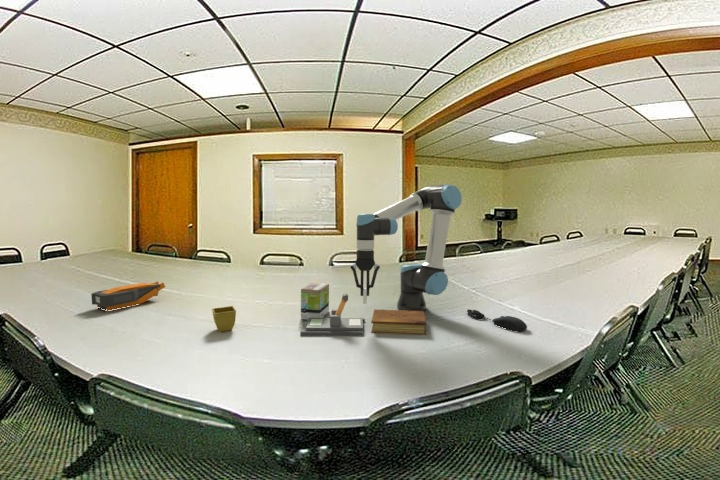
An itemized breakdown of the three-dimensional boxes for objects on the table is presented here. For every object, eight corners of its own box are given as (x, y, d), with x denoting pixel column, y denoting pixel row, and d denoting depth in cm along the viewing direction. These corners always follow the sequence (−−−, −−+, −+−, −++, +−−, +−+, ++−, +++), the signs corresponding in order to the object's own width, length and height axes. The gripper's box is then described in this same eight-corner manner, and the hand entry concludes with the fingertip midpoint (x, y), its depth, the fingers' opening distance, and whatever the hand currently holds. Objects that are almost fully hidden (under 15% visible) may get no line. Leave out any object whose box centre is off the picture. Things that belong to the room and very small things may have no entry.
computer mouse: (519, 335, 158) (519, 322, 158) (460, 315, 185) (460, 305, 185) (532, 330, 163) (533, 318, 163) (473, 312, 190) (473, 302, 190)
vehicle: (169, 299, 215) (169, 282, 214) (103, 314, 186) (101, 294, 185) (156, 296, 222) (155, 279, 221) (90, 309, 194) (88, 290, 193)
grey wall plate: (364, 321, 175) (364, 318, 175) (365, 335, 156) (365, 332, 156) (306, 321, 175) (306, 318, 175) (300, 335, 156) (300, 332, 156)
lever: (337, 320, 168) (349, 294, 167) (337, 325, 162) (348, 297, 161) (332, 318, 168) (343, 292, 167) (331, 322, 162) (343, 295, 161)
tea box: (320, 320, 176) (320, 289, 174) (300, 319, 178) (299, 288, 176) (329, 311, 190) (329, 283, 189) (310, 310, 192) (310, 282, 191)
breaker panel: (362, 323, 172) (362, 308, 172) (363, 333, 158) (363, 317, 158) (310, 323, 172) (310, 308, 172) (306, 333, 158) (305, 317, 158)
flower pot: (215, 334, 157) (214, 313, 156) (212, 328, 165) (211, 308, 164) (236, 331, 161) (236, 310, 160) (233, 325, 169) (232, 305, 168)
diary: (423, 322, 175) (423, 310, 175) (426, 336, 157) (426, 323, 156) (374, 320, 178) (374, 308, 177) (371, 333, 159) (371, 320, 159)
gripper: (379, 248, 166) (379, 301, 168) (350, 248, 166) (350, 300, 168) (380, 250, 158) (380, 305, 160) (350, 250, 158) (349, 305, 160)
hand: (364, 303), depth 164 cm, fingers closed
